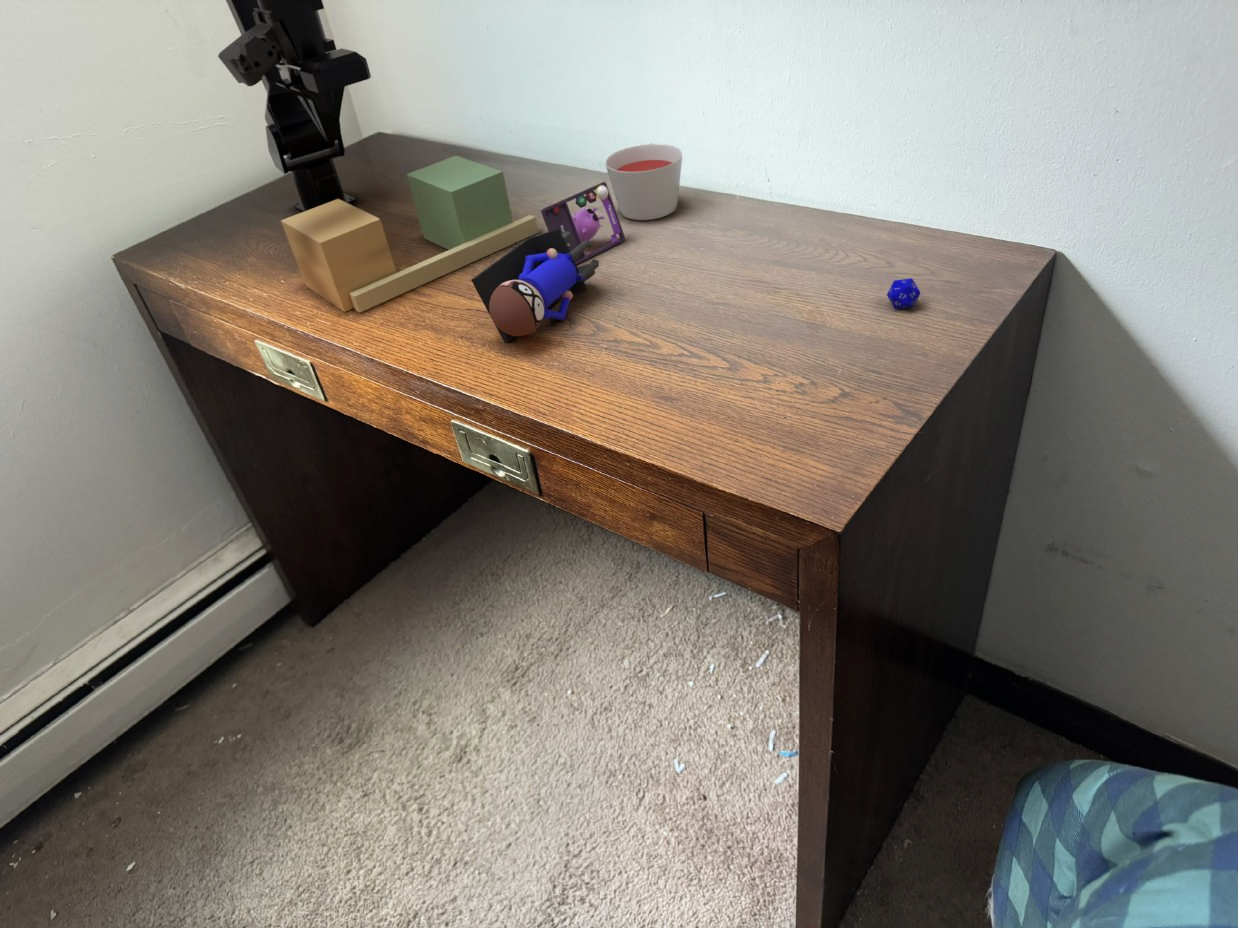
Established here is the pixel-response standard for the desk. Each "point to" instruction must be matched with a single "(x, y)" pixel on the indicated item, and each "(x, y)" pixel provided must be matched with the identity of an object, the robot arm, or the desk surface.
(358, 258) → the maple block
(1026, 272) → the desk surface
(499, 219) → the green block
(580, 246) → the character figurine
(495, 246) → the straightedge
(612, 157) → the candle
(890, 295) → the die
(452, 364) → the desk surface
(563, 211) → the game card
